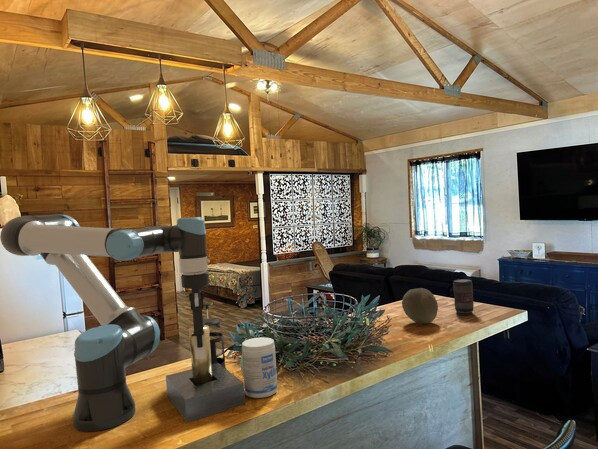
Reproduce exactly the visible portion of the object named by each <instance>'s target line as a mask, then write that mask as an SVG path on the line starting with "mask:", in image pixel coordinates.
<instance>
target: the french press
mask: <svg viewBox="0 0 598 449" xmlns="http://www.w3.org/2000/svg"><path fill="white" fill-rule="evenodd" d="M213 305H214V303H213V302H203V306H204V307H205V310H206V317H207V318H203V322H204V324H206V325H208V326H209V327H211V326H215V327H216V328H218V329H221V327H222V322H223V318H222V319H221V318H218V317H209V309H210V308H209V306H213ZM209 337H210V338H211V337H216V338H211V339H210V351H211V364H214V363H219V364H220V365H222V366H223V367H224V368H226V369H227V367H226V358H225V357H226V356H225V344H224V334H223V333H222V332H218V331H213V332H212V331H209ZM219 342H221V347H222V348H217V346H216V344H217V343H219ZM220 356H222V357H220Z"/></svg>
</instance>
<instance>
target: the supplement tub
mask: <svg viewBox="0 0 598 449" xmlns="http://www.w3.org/2000/svg"><path fill="white" fill-rule="evenodd" d="M241 357H242V358H241V359H242V369H243V370H242V371H243V372H242V373H243V383H244V394H245V396H247V397H249V398H252V399H262V398H263V399H264V398H268V397H271V396H273V395H275V394H276V392H277V391H278V374H277V372H278V371H277V359H276V358H277V357H276V346H275V340H274V339H273V338H270V337H264V336H262V337H254V338H250V339H249V338H248V339H246V340H244V341H243V342H242V343H241Z"/></svg>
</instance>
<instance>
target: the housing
mask: <svg viewBox="0 0 598 449" xmlns="http://www.w3.org/2000/svg"><path fill="white" fill-rule="evenodd" d="M211 365H212V379H213V381H211V382H207V383H204V384H200V385H196V386H195V385H194V384H193V377H192V368H191V369H186V370H183V371H178V372H175V373H171V374H167V375H165V383H166V384H165V386H166V397H167V398H168V399H169V400H170V402H171V403H172V404H173V406H174V407H175V409H176V410H177V412H178V413H179V414H180V416H181V417H182V418H183V419H184V421H185V423H190V422H194V421H198V420H201V419H203V418H206V417H209V416H213V415H215V414H219V413H222V412H225V411H228V410H232V409H235V408H238V407H241V406H245V405H246V397H245V396H246V393H245V388H244V381H242V380H241V379H239V378H238V377H237V376H236V375H234V373H233V372H231V371H230V370H228V369H227V367H226V368H224V367H223V366H222V365H220V364H219V363H214V364H211Z"/></svg>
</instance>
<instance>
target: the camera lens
mask: <svg viewBox="0 0 598 449" xmlns="http://www.w3.org/2000/svg"><path fill="white" fill-rule="evenodd" d="M452 284H453V285H452V286H453V296H454V310H455V311H456V312H455V314H456V315H459V316H465V317H466V316H467V317H469V316H471V315H473V311H474V307H475V306H474V289H473V288H474V285H473V282H472V279H463V278H462V279H455V280H453V283H452Z"/></svg>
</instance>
